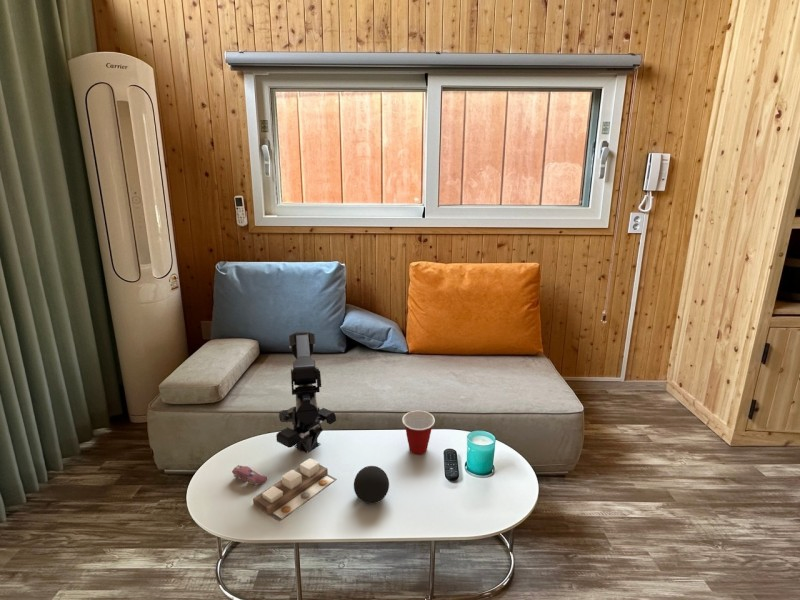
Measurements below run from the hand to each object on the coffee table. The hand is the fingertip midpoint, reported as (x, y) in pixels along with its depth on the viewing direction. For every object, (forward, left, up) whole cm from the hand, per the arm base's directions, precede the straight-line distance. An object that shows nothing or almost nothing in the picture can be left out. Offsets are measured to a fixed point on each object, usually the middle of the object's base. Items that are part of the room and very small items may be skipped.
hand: (308, 451), depth 139 cm
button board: (+7, +2, -9) cm, 12 cm away
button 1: (+14, 0, -9) cm, 16 cm away
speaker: (-4, +21, -10) cm, 23 cm away
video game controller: (+12, -13, -10) cm, 20 cm away
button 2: (0, 0, -7) cm, 7 cm away
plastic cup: (-32, +18, -10) cm, 38 cm away
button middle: (+7, 0, -7) cm, 10 cm away
